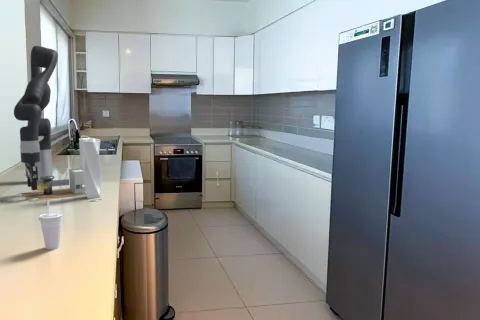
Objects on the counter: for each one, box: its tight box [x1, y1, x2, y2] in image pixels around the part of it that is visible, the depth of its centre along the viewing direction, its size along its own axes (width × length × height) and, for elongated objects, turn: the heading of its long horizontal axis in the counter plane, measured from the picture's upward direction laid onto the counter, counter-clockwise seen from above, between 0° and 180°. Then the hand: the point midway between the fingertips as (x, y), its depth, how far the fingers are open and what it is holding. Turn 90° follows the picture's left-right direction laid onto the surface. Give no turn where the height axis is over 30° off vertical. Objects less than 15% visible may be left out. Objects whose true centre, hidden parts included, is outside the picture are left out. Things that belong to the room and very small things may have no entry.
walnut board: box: [21, 187, 87, 203], centre depth 196 cm, size 21×24×1 cm
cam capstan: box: [36, 175, 70, 194], centre depth 193 cm, size 16×14×7 cm
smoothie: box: [38, 200, 64, 250], centre depth 127 cm, size 6×6×14 cm
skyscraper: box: [80, 134, 103, 202], centre depth 189 cm, size 8×8×28 cm
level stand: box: [68, 168, 86, 194], centre depth 200 cm, size 10×4×10 cm, turn 35°
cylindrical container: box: [78, 137, 93, 191], centre depth 206 cm, size 7×7×25 cm
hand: (32, 188), depth 189 cm, fingers open, 8 cm apart
